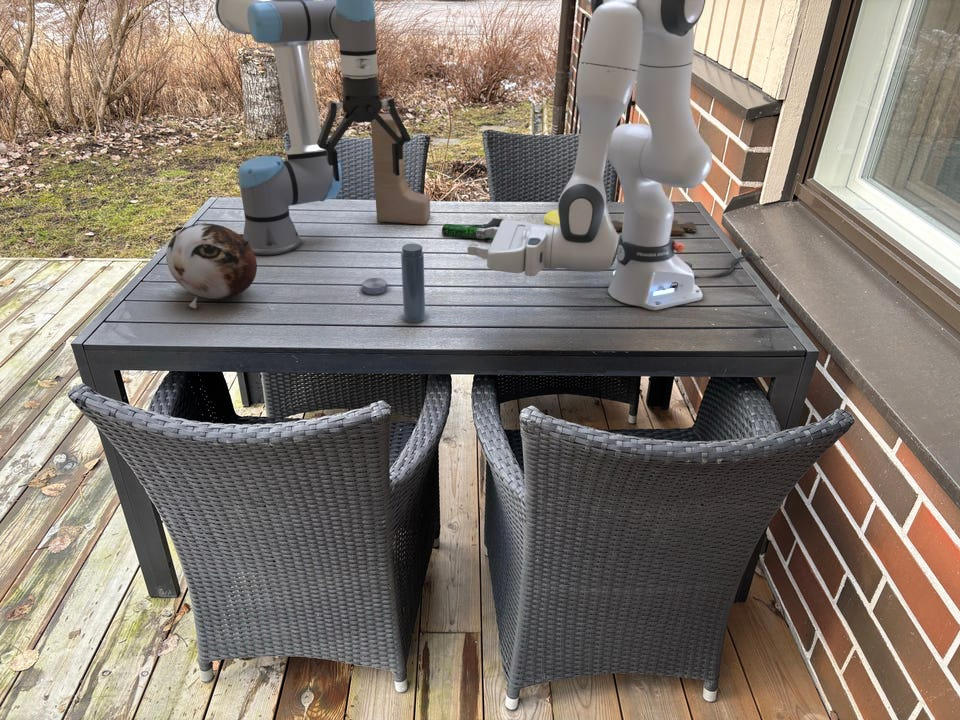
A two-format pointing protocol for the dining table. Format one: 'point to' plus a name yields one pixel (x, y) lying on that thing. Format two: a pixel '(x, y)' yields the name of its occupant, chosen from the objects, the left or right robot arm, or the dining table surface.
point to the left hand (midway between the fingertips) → (366, 176)
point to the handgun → (469, 229)
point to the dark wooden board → (675, 229)
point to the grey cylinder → (413, 282)
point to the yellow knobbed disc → (552, 218)
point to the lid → (374, 286)
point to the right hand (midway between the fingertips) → (472, 241)
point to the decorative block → (394, 181)
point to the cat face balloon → (211, 261)
